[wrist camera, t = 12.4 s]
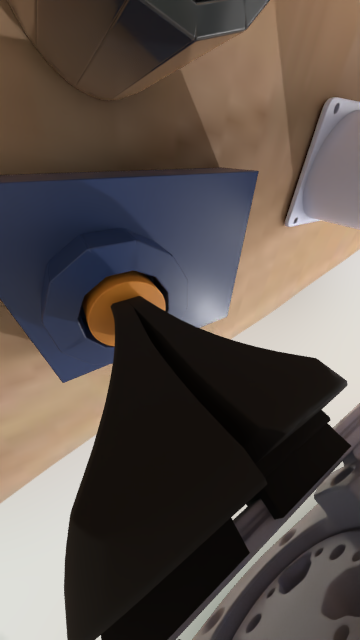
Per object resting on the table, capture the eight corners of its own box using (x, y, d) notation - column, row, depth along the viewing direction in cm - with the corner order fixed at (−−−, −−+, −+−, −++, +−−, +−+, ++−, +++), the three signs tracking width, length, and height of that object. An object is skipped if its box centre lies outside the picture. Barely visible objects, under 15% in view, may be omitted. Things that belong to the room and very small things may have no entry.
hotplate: (220, 167, 12) (288, 173, 9) (206, 298, 19) (242, 329, 15) (-50, 176, 7) (-120, 196, 4) (58, 348, 14) (65, 409, 11)
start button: (148, 257, 9) (164, 272, 8) (154, 314, 12) (167, 331, 11) (69, 274, 8) (74, 295, 7) (94, 334, 10) (101, 357, 9)
